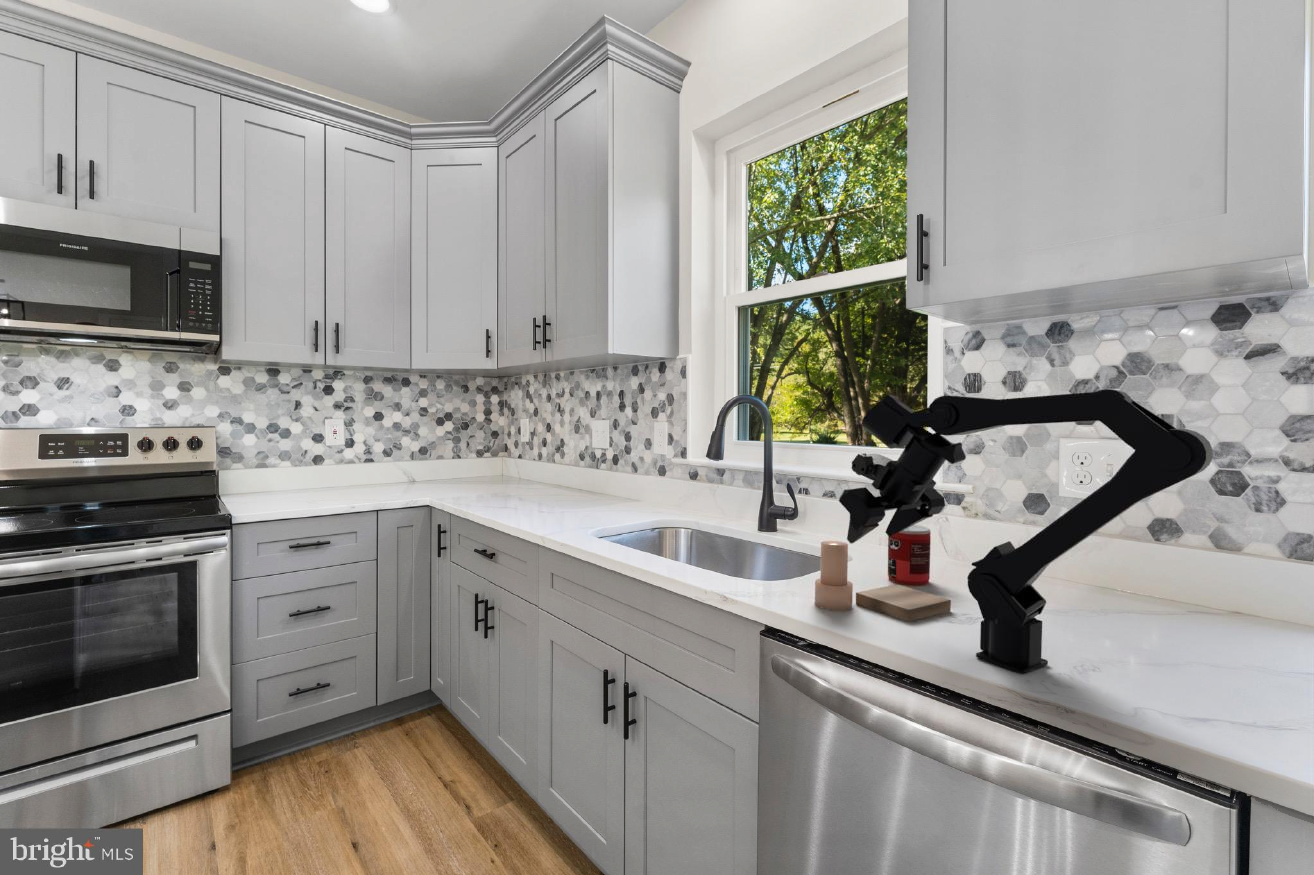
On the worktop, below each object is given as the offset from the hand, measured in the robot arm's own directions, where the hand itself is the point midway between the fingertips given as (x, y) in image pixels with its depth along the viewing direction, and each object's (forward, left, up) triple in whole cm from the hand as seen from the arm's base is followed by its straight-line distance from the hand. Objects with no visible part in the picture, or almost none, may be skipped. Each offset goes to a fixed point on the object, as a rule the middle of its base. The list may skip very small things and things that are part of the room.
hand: (869, 537), depth 101 cm
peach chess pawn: (+7, 0, -13) cm, 15 cm away
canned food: (+11, -25, -13) cm, 30 cm away
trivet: (0, -9, -13) cm, 16 cm away
